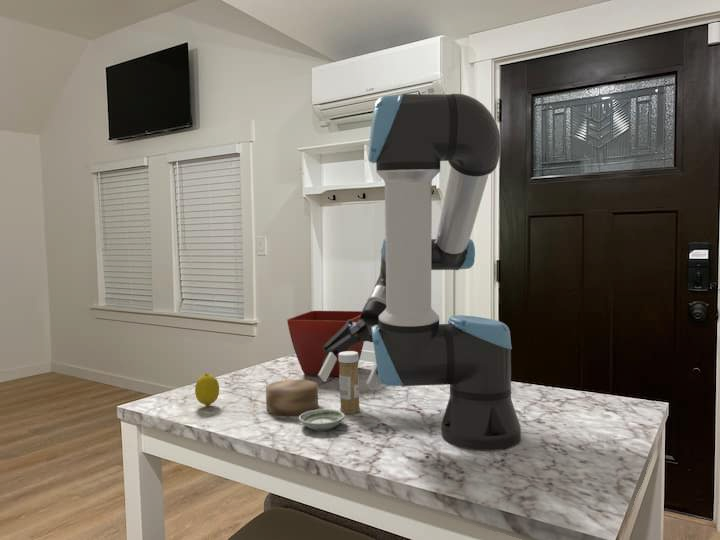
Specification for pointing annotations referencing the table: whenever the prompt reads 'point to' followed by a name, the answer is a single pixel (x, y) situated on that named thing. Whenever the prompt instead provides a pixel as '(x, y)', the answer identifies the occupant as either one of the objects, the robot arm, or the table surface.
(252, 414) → the table surface
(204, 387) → the lemon
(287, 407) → the walnut pedestal
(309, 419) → the saucer
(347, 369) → the sprinkles bottle
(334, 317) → the plant pot
